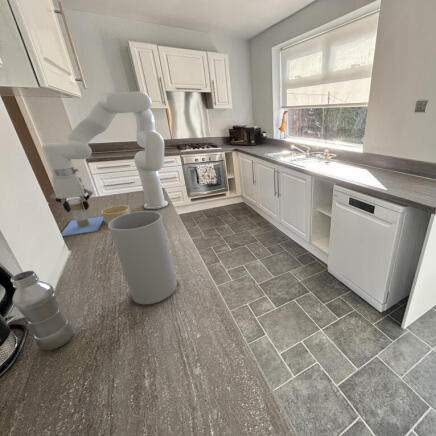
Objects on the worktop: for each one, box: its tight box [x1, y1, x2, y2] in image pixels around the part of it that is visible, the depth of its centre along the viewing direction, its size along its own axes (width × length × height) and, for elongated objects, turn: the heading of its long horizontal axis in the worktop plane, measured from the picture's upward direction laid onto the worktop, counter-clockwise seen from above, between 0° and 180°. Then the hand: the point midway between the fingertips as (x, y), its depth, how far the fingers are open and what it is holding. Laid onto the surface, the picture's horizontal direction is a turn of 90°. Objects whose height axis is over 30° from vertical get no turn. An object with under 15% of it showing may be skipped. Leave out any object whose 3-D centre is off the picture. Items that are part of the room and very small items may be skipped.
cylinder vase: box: [107, 210, 178, 305], centre depth 70 cm, size 12×12×25 cm
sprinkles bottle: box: [67, 197, 90, 227], centre depth 113 cm, size 5×5×13 cm
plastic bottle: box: [10, 270, 74, 351], centre depth 55 cm, size 6×7×20 cm
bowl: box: [100, 204, 132, 225], centre depth 121 cm, size 12×12×6 cm
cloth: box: [60, 216, 104, 237], centre depth 116 cm, size 18×14×1 cm
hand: (77, 209), depth 113 cm, fingers open, 5 cm apart
